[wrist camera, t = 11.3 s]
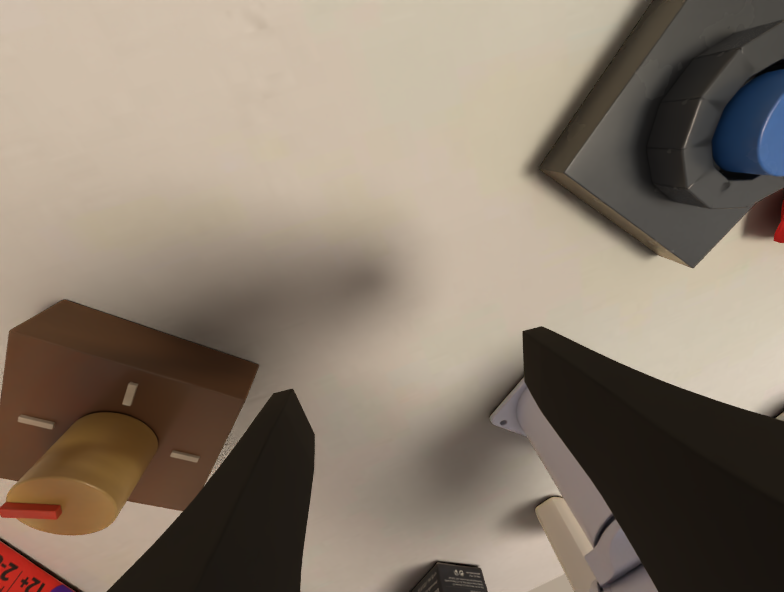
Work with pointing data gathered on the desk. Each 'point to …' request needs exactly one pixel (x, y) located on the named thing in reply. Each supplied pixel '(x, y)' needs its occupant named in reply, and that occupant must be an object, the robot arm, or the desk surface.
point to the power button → (753, 128)
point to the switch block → (671, 125)
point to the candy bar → (780, 228)
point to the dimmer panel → (119, 395)
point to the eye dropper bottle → (567, 541)
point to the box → (452, 579)
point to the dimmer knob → (83, 476)
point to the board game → (25, 574)
